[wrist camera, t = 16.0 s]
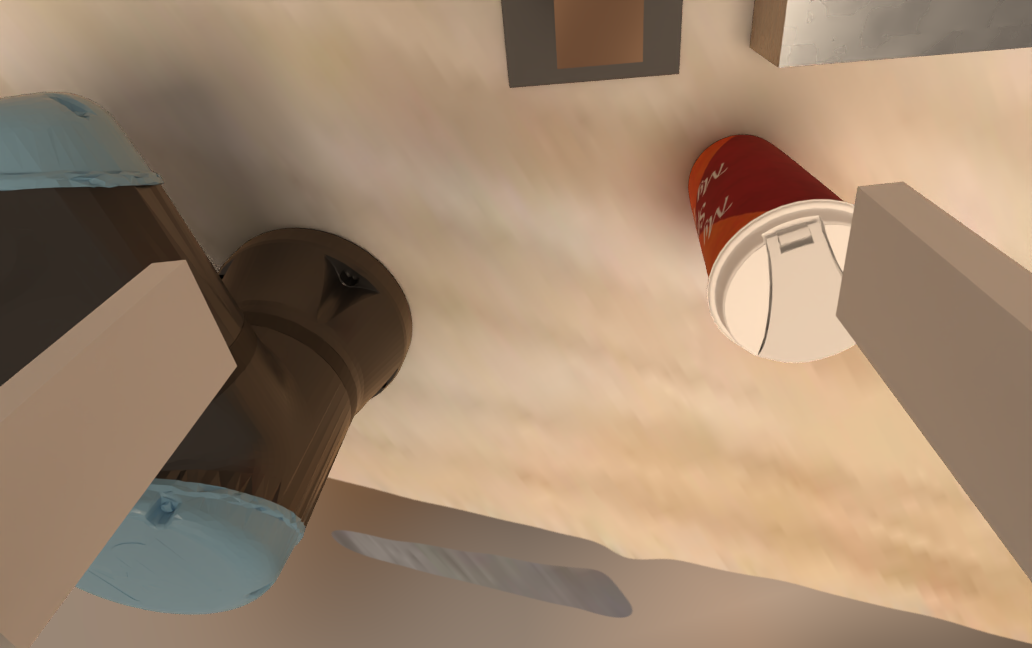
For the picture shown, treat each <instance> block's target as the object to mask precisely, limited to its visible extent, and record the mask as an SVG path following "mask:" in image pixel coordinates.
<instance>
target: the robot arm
mask: <svg viewBox="0 0 1032 648" xmlns="http://www.w3.org/2000/svg"><path fill="white" fill-rule="evenodd" d="M160 184H164V182H163V180H162V178H161V176H160V175H159V174H157V173H154V172H152V171H151V170H150V168H149V167H148V165H147V164H146V163H145V161H144V160H143V158H142V157H141V156H140V154H139V153H138V151H137V150H136V149H135V147H134V146H133V144H132V143H131V142H130V140H129V139H128V137H127V136H126V135H125V133H124V132H123V130H122V129H121V128H120V126H119V125H118V123H117V122H116V121H115V119H114V118H113V117H112V116H111V115H110V114H109V113H108V112H107V111H106V110H105V109H104V108H103V107H101V106H100V105H98V104H97V103H95V102H93V101H92V100H90V99H87V98H85V97H82V96H79V95H76V94H71V93H65V92H42V93H33V94H25V95H18V96H11V97H4V98H0V648H30V646H31V645H32V644H33V642H34V641H35V640H36V638H37V637H38V636H39V634H40V633H41V631H42V630H43V629H44V627H45V626H46V625H47V623H48V622H49V621H50V619H51V618H52V616H53V615H54V614H55V613H56V611H57V610H58V608H59V607H60V606H61V604H62V603H63V601H64V600H65V599H66V598H67V596H68V595H69V594H70V592H71V591H72V590H73V588H74V587H77V588H79V589H82V590H84V591H86V592H88V593H91V594H93V595H96V596H98V597H101V598H104V599H108V600H110V601H113V602H116V603H120V604H123V605H127V606H131V607H136V608H141V609H144V610H150V611H155V612H163V613H173V614H211V613H218V612H223V611H228V610H232V609H236V608H239V607H241V606H244V605H246V604H248V603H250V602H252V601H254V600H256V599H257V598H259V597H260V596H261V595H263V594H264V593H265V592H266V591H267V590H268V589H269V588H270V587H271V586H272V585H273V584H274V582H275V581H276V580H277V578H278V576H279V574H280V572H281V571H282V569H283V567H284V565H285V563H286V561H287V559H288V557H289V556H290V554H291V552H292V550H293V548H294V546H295V545H297V544H298V542H300V540H301V538H303V535H304V532H305V528H306V526H307V523H308V521H309V519H310V516H311V514H312V511H313V509H314V507H315V505H316V502H317V500H318V498H319V495H320V493H321V491H322V488H323V486H324V484H325V481H326V479H327V477H328V475H329V472H330V470H331V468H332V465H333V463H334V461H335V458H336V456H337V454H338V451H339V449H340V447H341V444H342V442H343V440H344V437H345V435H346V433H347V430H348V428H349V426H350V424H351V422H352V419H353V417H354V415H356V414H357V413H358V412H359V411H360V410H361V409H362V408H363V407H364V405H365V404H366V403H367V402H368V401H369V400H370V399H371V398H373V397H375V396H376V395H378V394H379V393H380V392H382V391H383V390H384V389H385V388H386V387H387V386H388V385H389V384H390V383H391V382H392V381H393V379H394V378H395V377H396V375H397V374H398V372H399V370H400V368H401V366H402V364H403V362H404V359H405V357H406V354H407V352H408V349H409V346H410V342H411V337H412V320H411V314H410V310H409V306H408V303H407V301H406V298H405V296H404V294H403V292H402V290H401V288H400V287H399V285H398V284H397V282H396V281H395V279H394V278H393V277H392V275H391V274H390V273H389V272H388V271H387V270H386V268H385V267H384V266H383V265H382V264H381V263H379V262H378V261H377V260H376V259H375V258H374V257H372V256H371V255H370V254H369V253H367V252H366V251H364V250H363V249H361V248H360V247H358V246H356V245H355V244H353V243H351V242H349V241H347V240H345V239H343V238H340V237H338V236H335V235H332V234H329V233H325V232H322V231H317V230H312V229H302V228H287V229H279V230H274V231H270V232H266V233H264V234H261V235H259V236H256V237H254V238H253V239H251V240H249V241H248V242H246V243H245V244H244V245H243V246H242V247H240V248H239V249H238V250H237V251H236V252H235V253H234V254H233V255H232V256H231V257H230V258H229V259H228V260H227V261H226V262H225V263H224V264H223V266H222V267H221V268H220V270H219V272H218V273H217V272H216V270H215V269H214V267H213V265H212V264H211V262H210V261H209V259H208V258H207V256H206V255H205V253H204V251H203V250H202V248H201V247H200V245H199V244H198V242H197V241H196V239H195V237H194V236H193V234H192V233H191V231H190V230H189V228H188V227H187V225H186V223H185V222H184V220H183V219H182V217H181V216H180V214H179V213H178V211H177V209H176V208H175V206H174V205H173V203H172V202H171V200H170V199H169V197H168V196H167V194H166V192H165V191H164V189H163V188H162V186H161V185H160ZM836 317H837V318H838V320H839V321H840V322H841V324H842V325H843V326H844V328H845V329H846V330H847V332H848V333H849V335H850V336H851V337H852V339H853V340H854V341H855V343H856V344H857V345H858V347H859V348H860V350H861V351H862V352H863V354H864V355H865V356H866V358H867V359H868V360H869V362H870V363H871V364H872V366H873V367H874V369H875V370H876V371H877V373H878V374H879V375H880V377H881V378H882V379H883V381H884V382H885V383H886V385H887V386H888V388H889V389H890V390H891V392H892V393H893V394H894V396H895V397H896V398H897V400H898V401H899V402H900V404H901V405H902V407H903V408H904V409H905V411H906V412H907V413H908V415H909V416H910V417H911V419H912V420H913V422H914V423H915V424H916V426H917V427H918V428H919V430H920V431H921V432H922V434H923V435H924V436H925V438H926V439H927V441H928V442H929V443H930V445H931V446H932V447H933V449H934V450H935V451H936V453H937V454H938V455H939V457H940V458H941V460H942V461H943V462H944V464H945V465H946V466H947V468H948V469H949V470H950V472H951V473H952V475H953V476H954V477H955V479H956V480H957V481H958V483H959V484H960V485H961V487H962V488H963V489H964V491H965V492H966V494H967V495H968V496H969V498H970V499H971V500H972V502H973V503H974V504H975V506H976V507H977V508H978V510H979V511H980V513H981V514H982V515H983V517H984V518H985V519H986V521H987V522H988V523H989V525H990V526H991V528H992V529H993V530H994V532H995V533H996V534H997V536H998V537H999V538H1000V540H1001V541H1002V542H1003V544H1004V545H1005V547H1006V548H1007V549H1008V551H1009V552H1010V553H1011V555H1012V556H1013V557H1014V559H1015V560H1016V561H1017V563H1018V564H1019V566H1020V567H1021V568H1022V570H1023V571H1024V572H1025V574H1026V575H1027V576H1028V578H1029V579H1030V581H1031V582H1032V273H1031V272H1030V271H1028V270H1027V269H1025V268H1024V267H1023V266H1021V265H1020V264H1018V263H1017V262H1016V261H1014V260H1013V259H1011V258H1010V257H1008V256H1007V255H1006V254H1004V253H1003V252H1001V251H1000V250H999V249H997V248H996V247H994V246H993V245H992V244H990V243H989V242H987V241H986V240H985V239H983V238H982V237H980V236H979V235H977V234H976V233H975V232H973V231H972V230H970V229H969V228H968V227H966V226H965V225H963V224H962V223H961V222H959V221H958V220H956V219H955V218H954V217H952V216H951V215H949V214H948V213H947V212H945V211H944V210H942V209H941V208H939V207H938V206H937V205H935V204H934V203H932V202H931V201H930V200H928V199H927V198H925V197H924V196H923V195H921V194H920V193H918V192H917V191H916V190H914V189H913V188H911V187H910V186H908V185H907V184H906V183H904V182H896V183H886V184H877V185H868V186H859V187H858V188H857V194H856V200H855V205H854V211H853V217H852V223H851V229H850V234H849V240H848V246H847V252H846V258H845V264H844V269H843V275H842V281H841V287H840V293H839V298H838V304H837V310H836Z"/></svg>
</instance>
